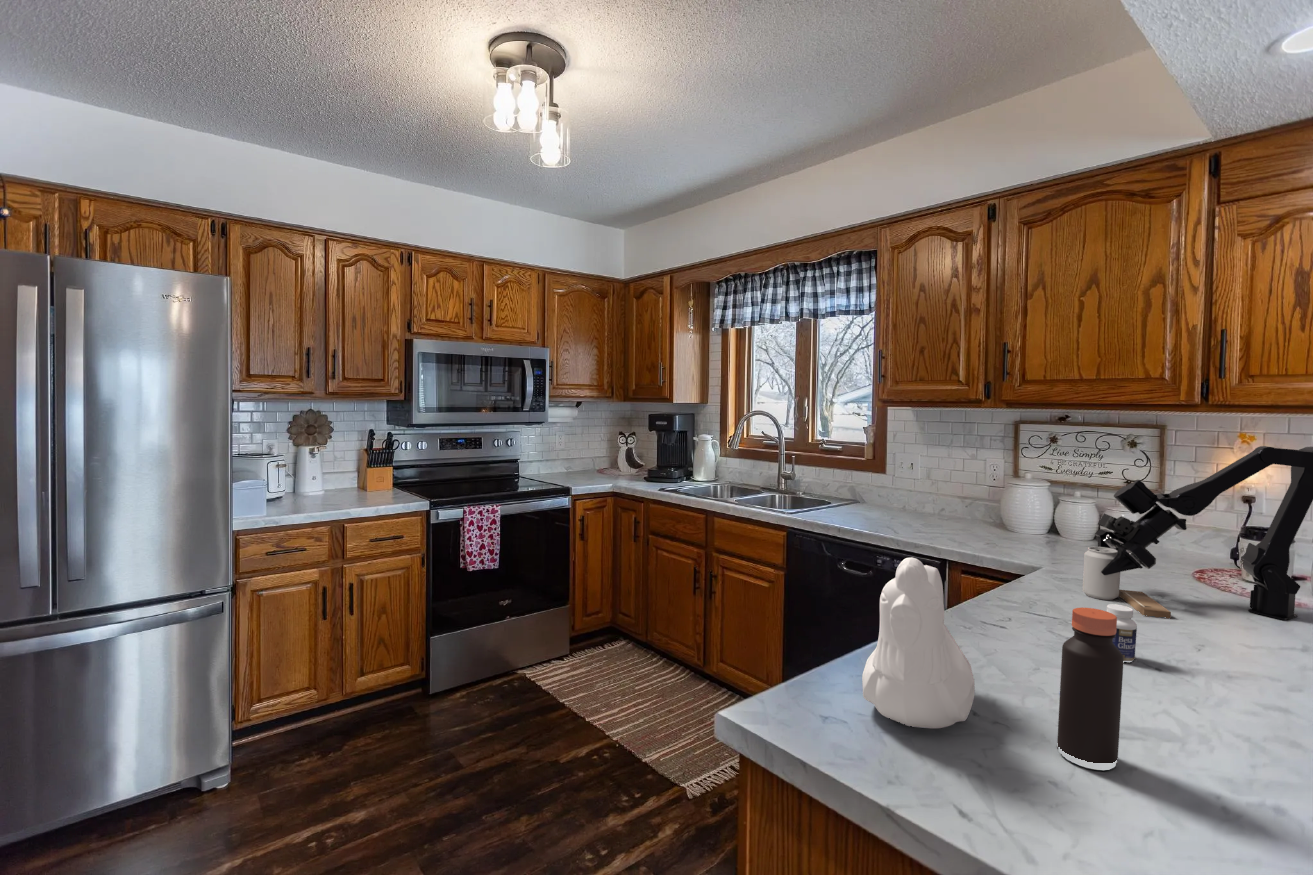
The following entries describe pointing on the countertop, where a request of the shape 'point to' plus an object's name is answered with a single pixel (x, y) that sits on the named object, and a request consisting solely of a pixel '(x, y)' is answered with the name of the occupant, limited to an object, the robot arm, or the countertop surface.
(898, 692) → the decorative rooster
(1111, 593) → the can
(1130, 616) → the pill bottle
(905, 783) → the countertop surface
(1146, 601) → the plank
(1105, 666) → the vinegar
